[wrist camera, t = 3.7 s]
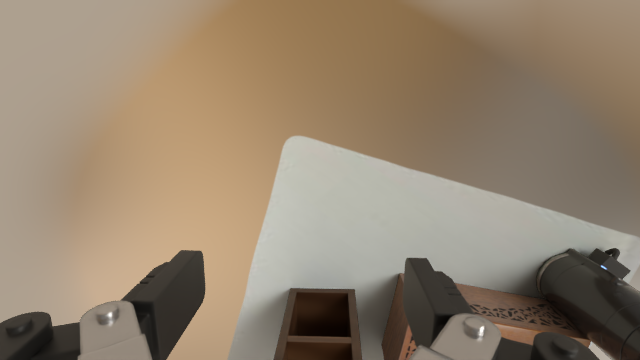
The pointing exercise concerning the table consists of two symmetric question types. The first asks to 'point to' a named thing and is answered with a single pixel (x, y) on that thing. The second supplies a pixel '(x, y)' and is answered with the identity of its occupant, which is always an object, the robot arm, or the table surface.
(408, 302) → the robot arm
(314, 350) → the shelf
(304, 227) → the table surface
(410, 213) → the table surface
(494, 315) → the tissue box cover
